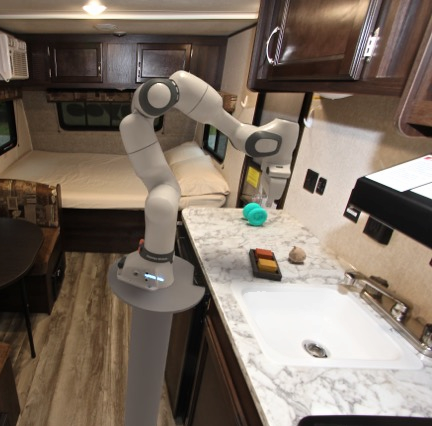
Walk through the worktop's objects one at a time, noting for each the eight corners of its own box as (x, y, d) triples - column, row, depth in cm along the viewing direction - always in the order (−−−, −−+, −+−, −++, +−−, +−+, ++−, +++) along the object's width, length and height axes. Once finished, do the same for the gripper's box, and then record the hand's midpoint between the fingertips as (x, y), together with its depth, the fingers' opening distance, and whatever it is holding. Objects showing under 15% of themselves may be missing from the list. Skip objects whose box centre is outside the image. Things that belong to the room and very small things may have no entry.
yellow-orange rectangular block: (258, 272, 116) (260, 264, 115) (256, 266, 120) (258, 258, 119) (274, 275, 115) (277, 267, 113) (272, 269, 119) (275, 261, 117)
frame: (254, 276, 115) (255, 271, 114) (248, 253, 131) (250, 248, 129) (280, 281, 112) (282, 276, 111) (272, 257, 128) (273, 252, 127)
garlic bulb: (285, 255, 129) (290, 240, 126) (302, 258, 128) (307, 242, 124) (288, 263, 124) (293, 247, 120) (305, 266, 122) (311, 250, 119)
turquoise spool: (258, 218, 164) (262, 202, 160) (265, 226, 155) (270, 209, 151) (240, 218, 164) (243, 201, 160) (246, 226, 155) (251, 209, 151)
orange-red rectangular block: (255, 261, 124) (257, 253, 122) (253, 255, 128) (255, 247, 126) (270, 263, 122) (273, 255, 121) (268, 258, 126) (271, 250, 125)
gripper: (261, 158, 113) (253, 191, 119) (270, 172, 95) (260, 211, 101) (279, 159, 111) (270, 193, 117) (292, 174, 94) (280, 213, 99)
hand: (265, 202), depth 109 cm, fingers open, 8 cm apart
